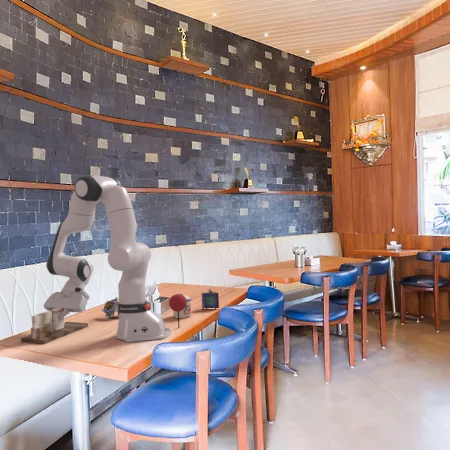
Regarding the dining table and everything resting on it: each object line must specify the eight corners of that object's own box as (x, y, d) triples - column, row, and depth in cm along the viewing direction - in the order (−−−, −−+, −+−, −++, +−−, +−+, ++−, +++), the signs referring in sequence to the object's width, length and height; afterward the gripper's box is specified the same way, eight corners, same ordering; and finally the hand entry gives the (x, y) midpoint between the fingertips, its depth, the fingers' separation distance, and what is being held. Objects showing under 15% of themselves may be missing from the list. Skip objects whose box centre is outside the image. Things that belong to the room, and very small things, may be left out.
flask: (201, 309, 214) (200, 289, 214) (202, 308, 217) (202, 288, 217) (218, 309, 212) (217, 289, 212) (219, 308, 215) (219, 288, 215)
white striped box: (60, 327, 180) (59, 307, 179) (64, 327, 179) (63, 307, 179) (52, 330, 175) (51, 309, 175) (55, 330, 174) (55, 310, 174)
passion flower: (109, 329, 200) (95, 309, 202) (123, 320, 210) (110, 301, 211) (121, 318, 195) (107, 299, 196) (135, 309, 205) (122, 291, 206)
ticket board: (67, 324, 191) (66, 302, 190) (88, 326, 186) (87, 303, 186) (20, 341, 165) (19, 315, 165) (43, 344, 161) (42, 317, 161)
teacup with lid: (186, 319, 194) (185, 295, 194) (169, 318, 198) (169, 294, 197) (197, 313, 205) (196, 290, 205) (181, 312, 209) (180, 290, 209)
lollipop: (190, 326, 180) (189, 293, 180) (179, 330, 174) (178, 296, 174) (177, 324, 185) (176, 292, 185) (166, 328, 178) (165, 295, 178)
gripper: (49, 287, 187) (34, 313, 178) (86, 289, 180) (71, 316, 171) (57, 295, 191) (42, 321, 182) (92, 297, 184) (79, 324, 175)
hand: (56, 318), depth 176 cm, fingers closed on white striped box, 2 cm apart
